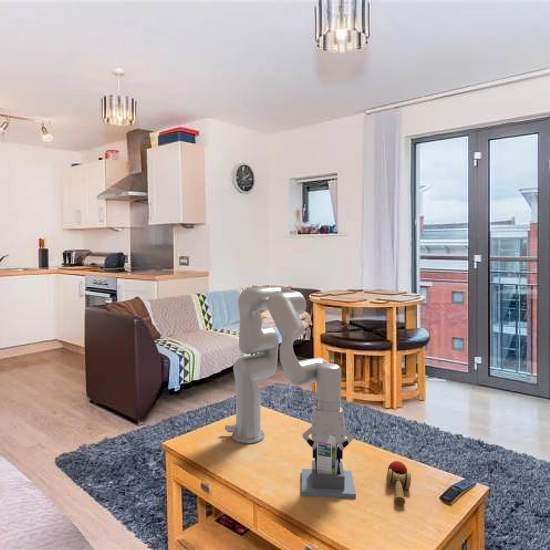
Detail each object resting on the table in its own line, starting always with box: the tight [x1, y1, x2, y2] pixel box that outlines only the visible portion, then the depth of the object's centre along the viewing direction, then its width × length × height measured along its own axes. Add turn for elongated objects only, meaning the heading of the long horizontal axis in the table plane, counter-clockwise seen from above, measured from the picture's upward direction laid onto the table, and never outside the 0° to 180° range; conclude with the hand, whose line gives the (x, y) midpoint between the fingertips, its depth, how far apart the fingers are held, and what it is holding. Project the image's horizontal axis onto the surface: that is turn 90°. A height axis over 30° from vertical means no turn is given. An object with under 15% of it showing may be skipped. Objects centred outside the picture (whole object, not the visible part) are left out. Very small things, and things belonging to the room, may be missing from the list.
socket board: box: [301, 459, 357, 499], centre depth 140 cm, size 16×14×5 cm
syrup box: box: [317, 435, 338, 475], centre depth 140 cm, size 6×6×14 cm
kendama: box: [385, 460, 412, 507], centre depth 137 cm, size 8×6×18 cm
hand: (327, 459), depth 140 cm, fingers closed on syrup box, 6 cm apart
